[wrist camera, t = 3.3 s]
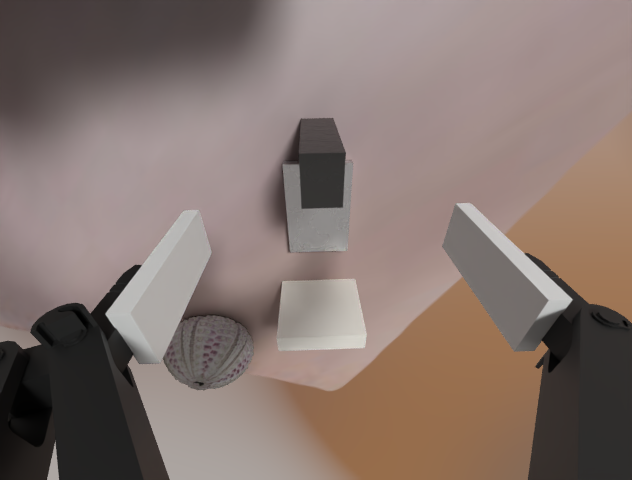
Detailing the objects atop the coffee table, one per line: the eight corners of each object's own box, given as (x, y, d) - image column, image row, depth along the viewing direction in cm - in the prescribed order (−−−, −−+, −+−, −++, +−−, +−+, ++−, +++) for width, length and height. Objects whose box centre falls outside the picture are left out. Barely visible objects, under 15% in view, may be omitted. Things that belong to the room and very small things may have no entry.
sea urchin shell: (268, 320, 43) (261, 370, 36) (242, 364, 50) (233, 413, 43) (179, 296, 39) (154, 347, 32) (165, 347, 46) (142, 398, 39)
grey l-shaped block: (290, 247, 34) (285, 310, 26) (279, 119, 26) (267, 154, 17) (346, 245, 34) (358, 308, 26) (354, 117, 26) (376, 151, 18)
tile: (283, 294, 39) (278, 352, 32) (282, 280, 38) (276, 337, 30) (353, 292, 39) (364, 349, 32) (355, 278, 38) (366, 334, 31)
